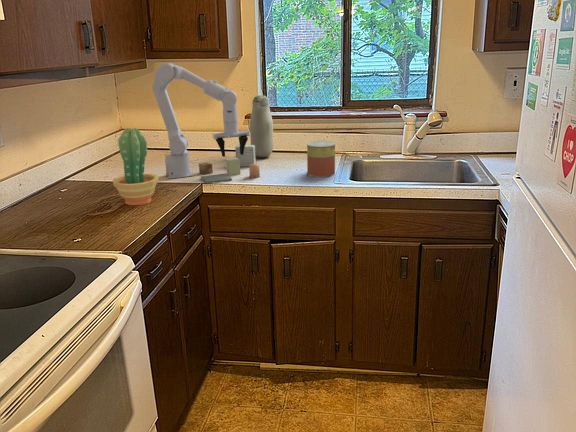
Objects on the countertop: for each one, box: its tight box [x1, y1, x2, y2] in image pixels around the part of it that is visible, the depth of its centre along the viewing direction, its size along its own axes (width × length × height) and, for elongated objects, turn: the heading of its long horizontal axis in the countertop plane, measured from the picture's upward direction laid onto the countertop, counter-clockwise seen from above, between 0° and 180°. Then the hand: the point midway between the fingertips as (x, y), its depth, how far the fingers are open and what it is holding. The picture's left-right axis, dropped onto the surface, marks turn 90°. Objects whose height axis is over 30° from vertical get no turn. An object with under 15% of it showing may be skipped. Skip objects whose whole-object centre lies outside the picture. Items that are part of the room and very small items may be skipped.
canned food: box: [306, 140, 336, 178], centre depth 213 cm, size 11×11×12 cm
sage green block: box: [225, 157, 242, 176], centre depth 216 cm, size 4×4×6 cm
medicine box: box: [234, 144, 257, 167], centre depth 229 cm, size 8×4×9 cm, turn 84°
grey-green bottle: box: [249, 94, 274, 159], centre depth 240 cm, size 10×10×28 cm
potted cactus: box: [112, 127, 159, 206], centre depth 179 cm, size 15×15×25 cm
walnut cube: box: [198, 161, 214, 176], centre depth 218 cm, size 4×4×4 cm
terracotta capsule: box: [248, 163, 261, 179], centre depth 211 cm, size 4×4×5 cm
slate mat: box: [200, 173, 232, 185], centre depth 209 cm, size 10×9×1 cm
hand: (232, 155), depth 215 cm, fingers open, 7 cm apart
